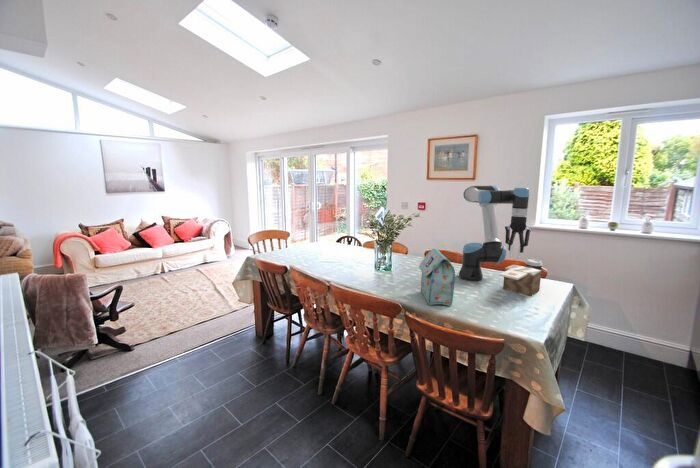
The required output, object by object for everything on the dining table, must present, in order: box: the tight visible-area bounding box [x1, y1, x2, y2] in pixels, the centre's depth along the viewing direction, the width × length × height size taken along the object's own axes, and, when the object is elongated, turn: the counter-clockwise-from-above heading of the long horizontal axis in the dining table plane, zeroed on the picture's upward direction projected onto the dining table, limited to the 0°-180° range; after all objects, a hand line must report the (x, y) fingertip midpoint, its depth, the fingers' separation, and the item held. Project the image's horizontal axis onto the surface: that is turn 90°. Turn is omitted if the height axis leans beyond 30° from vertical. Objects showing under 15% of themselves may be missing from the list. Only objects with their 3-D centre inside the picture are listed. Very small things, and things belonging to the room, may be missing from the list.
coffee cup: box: [525, 258, 544, 270], centre depth 201 cm, size 10×10×15 cm
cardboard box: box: [502, 264, 542, 297], centre depth 190 cm, size 16×12×13 cm
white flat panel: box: [498, 270, 527, 280], centre depth 180 cm, size 10×13×1 cm
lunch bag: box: [418, 248, 456, 307], centre depth 176 cm, size 23×16×27 cm
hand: (515, 257), depth 179 cm, fingers open, 4 cm apart
